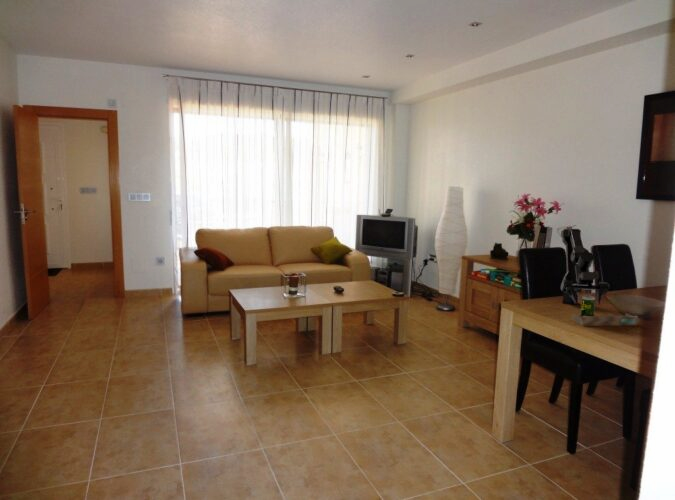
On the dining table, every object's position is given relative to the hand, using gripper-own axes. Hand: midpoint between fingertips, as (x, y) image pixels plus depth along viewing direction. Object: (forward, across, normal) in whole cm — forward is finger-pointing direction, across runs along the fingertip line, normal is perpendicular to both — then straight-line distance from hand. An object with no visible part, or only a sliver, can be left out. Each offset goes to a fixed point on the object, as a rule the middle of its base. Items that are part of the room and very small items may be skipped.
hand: (587, 303), depth 204 cm
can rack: (+5, +8, +7) cm, 11 cm away
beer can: (+7, 0, +6) cm, 9 cm away
